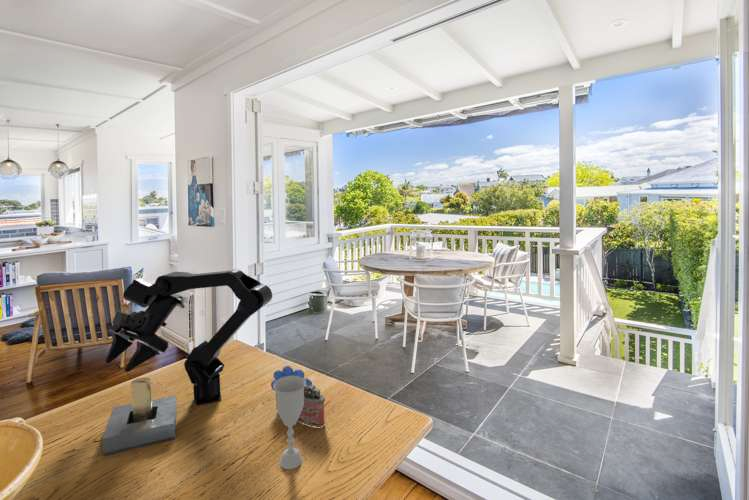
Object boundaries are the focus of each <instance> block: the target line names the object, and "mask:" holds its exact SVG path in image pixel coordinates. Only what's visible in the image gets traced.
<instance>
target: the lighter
mask: <svg viewBox="0 0 749 500" xmlns="http://www.w3.org/2000/svg"><path fill="white" fill-rule="evenodd" d="M325 401H326V397H325V396H324V395H321V388H318V387H316V385H314V384H312V386H308V385H305V386H304V406H303V409H302V412H301V414H300V416H299V418H298V421H299V422H301V423H304V424H307V425H310V426H316V427H321V426H323V425H324V424H325V425H326V421H325Z"/></svg>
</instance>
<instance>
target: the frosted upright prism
mask: <svg viewBox="0 0 749 500" xmlns="http://www.w3.org/2000/svg"><path fill="white" fill-rule="evenodd" d="M130 390H131V391H130V392H131V404H132V407H133V421H134V423H136V422H141V421H146V420H151V419H153V413H152V400H153V399H152V386H151V378H150V377H139V378H136V379H134V380H132V381H131V382H130Z"/></svg>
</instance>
